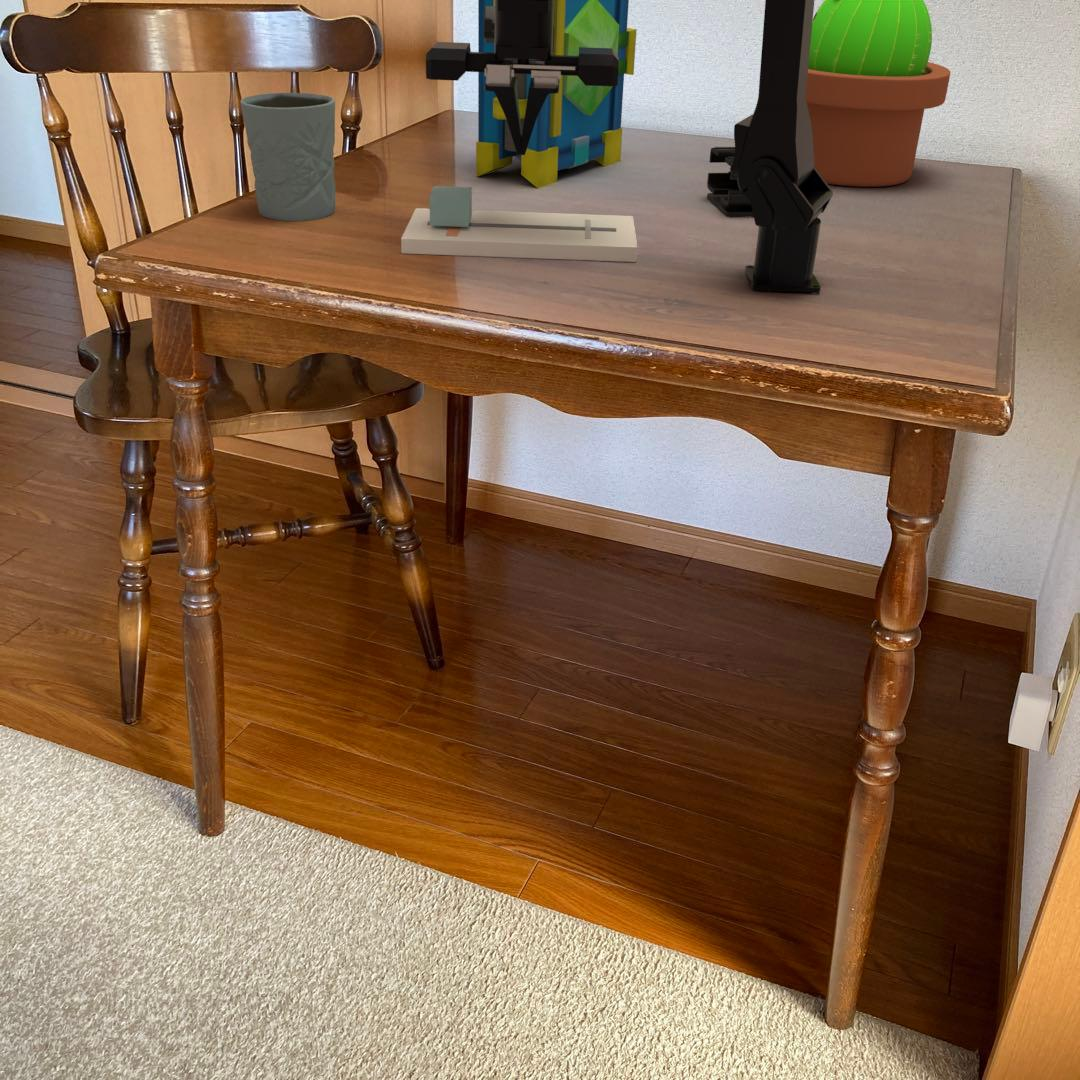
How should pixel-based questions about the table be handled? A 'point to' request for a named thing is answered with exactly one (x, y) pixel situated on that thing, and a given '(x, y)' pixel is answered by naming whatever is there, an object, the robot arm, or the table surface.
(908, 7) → the potted cactus
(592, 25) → the decorative book
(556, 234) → the fader panel
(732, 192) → the end cap
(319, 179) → the grey-green plant pot
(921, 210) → the table surface
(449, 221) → the fader tab
